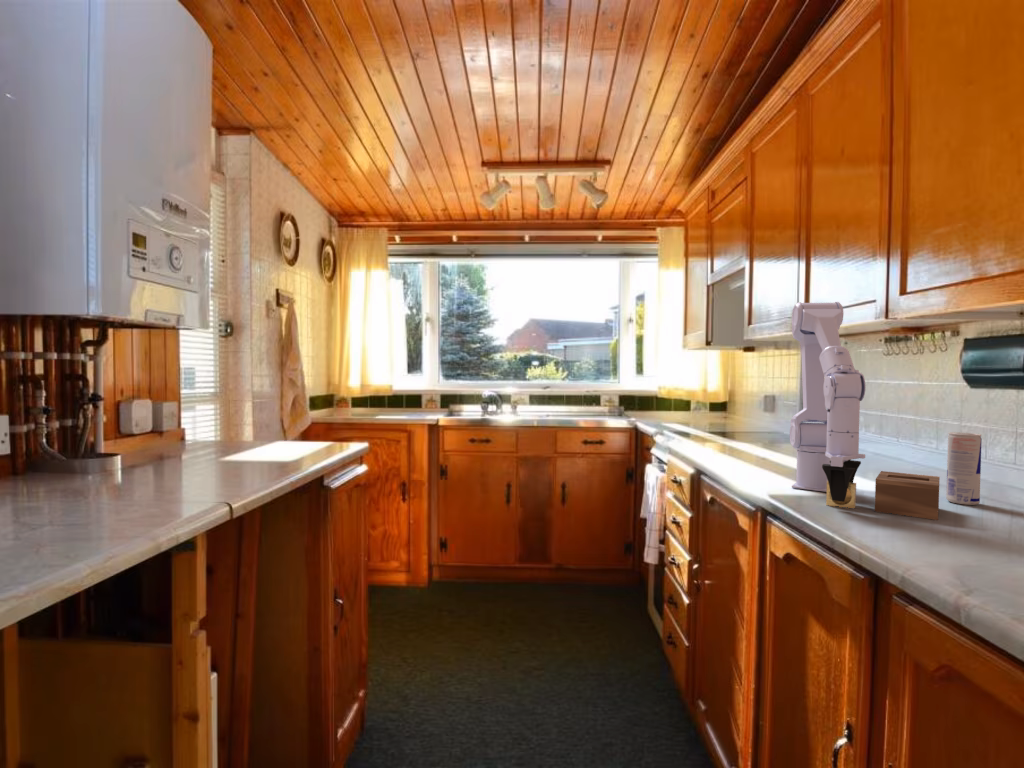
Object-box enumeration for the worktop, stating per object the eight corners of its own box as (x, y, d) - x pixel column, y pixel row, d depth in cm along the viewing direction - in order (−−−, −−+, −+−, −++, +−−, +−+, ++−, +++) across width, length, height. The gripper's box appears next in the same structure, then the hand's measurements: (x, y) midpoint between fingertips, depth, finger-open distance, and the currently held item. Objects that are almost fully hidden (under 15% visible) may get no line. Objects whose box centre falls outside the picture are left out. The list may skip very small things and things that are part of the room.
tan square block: (828, 503, 120) (828, 479, 120) (855, 507, 117) (856, 483, 117) (826, 505, 118) (826, 481, 118) (854, 509, 115) (854, 484, 115)
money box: (880, 501, 122) (881, 470, 122) (938, 508, 116) (939, 476, 116) (874, 511, 113) (875, 478, 113) (937, 520, 107) (938, 485, 107)
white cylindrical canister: (985, 506, 118) (987, 434, 118) (955, 505, 120) (957, 433, 119) (969, 500, 124) (972, 432, 124) (940, 499, 125) (942, 431, 125)
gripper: (861, 435, 109) (859, 506, 109) (869, 430, 120) (867, 494, 120) (819, 433, 113) (818, 501, 113) (831, 428, 125) (830, 490, 125)
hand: (841, 497), depth 117 cm, fingers open, 7 cm apart
